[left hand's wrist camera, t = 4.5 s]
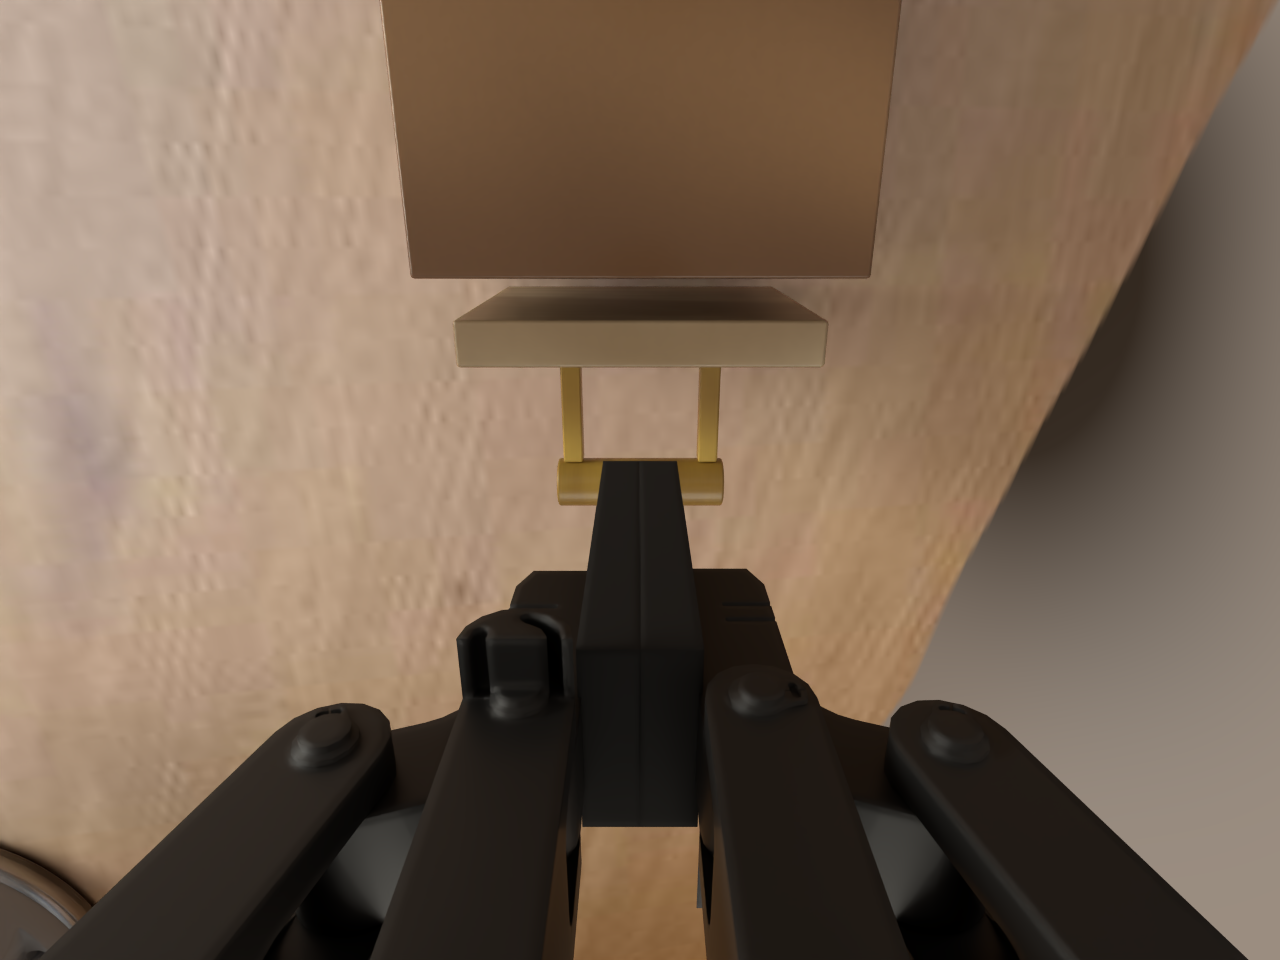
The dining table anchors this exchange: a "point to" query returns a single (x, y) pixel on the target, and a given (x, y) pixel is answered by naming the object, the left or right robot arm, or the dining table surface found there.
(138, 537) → the dining table surface
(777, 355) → the drawer
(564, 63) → the cabinet
